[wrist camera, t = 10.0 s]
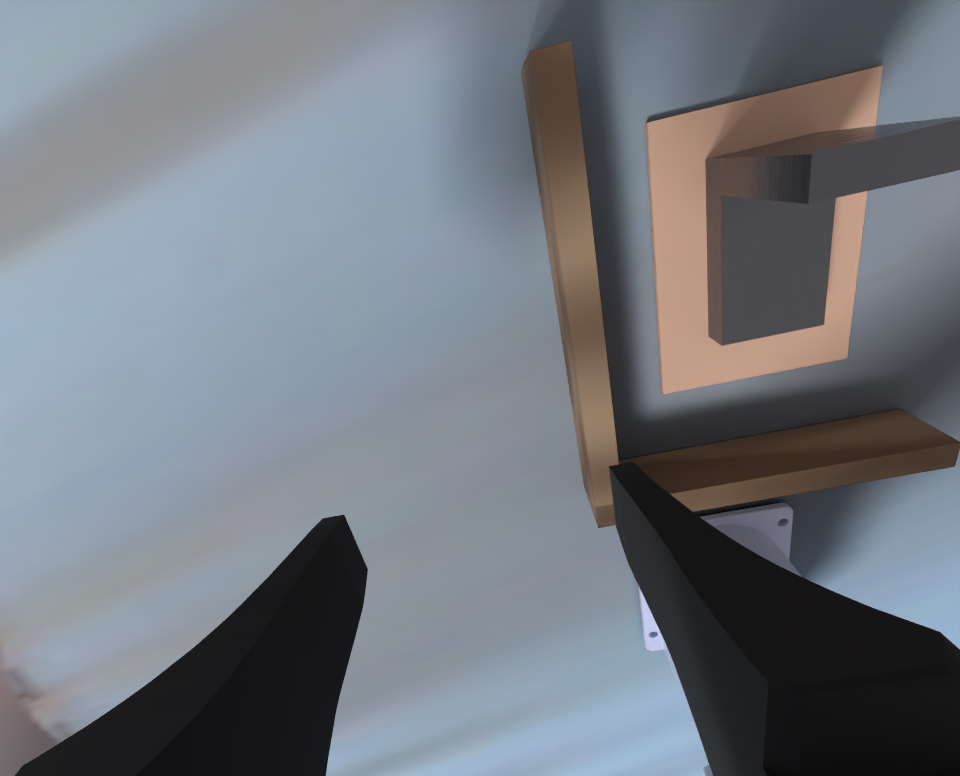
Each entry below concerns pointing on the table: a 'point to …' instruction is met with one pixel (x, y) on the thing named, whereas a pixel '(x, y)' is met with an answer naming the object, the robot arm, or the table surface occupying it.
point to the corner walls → (683, 473)
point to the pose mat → (684, 233)
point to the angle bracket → (799, 217)
